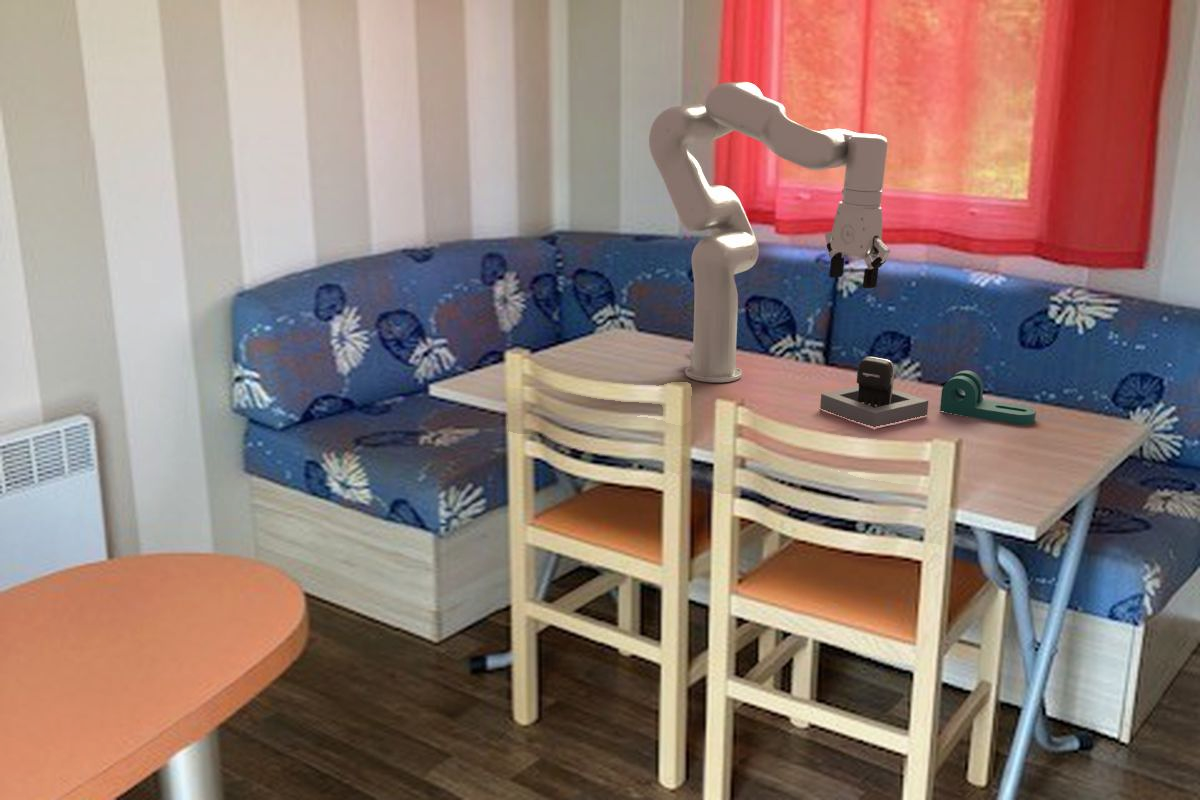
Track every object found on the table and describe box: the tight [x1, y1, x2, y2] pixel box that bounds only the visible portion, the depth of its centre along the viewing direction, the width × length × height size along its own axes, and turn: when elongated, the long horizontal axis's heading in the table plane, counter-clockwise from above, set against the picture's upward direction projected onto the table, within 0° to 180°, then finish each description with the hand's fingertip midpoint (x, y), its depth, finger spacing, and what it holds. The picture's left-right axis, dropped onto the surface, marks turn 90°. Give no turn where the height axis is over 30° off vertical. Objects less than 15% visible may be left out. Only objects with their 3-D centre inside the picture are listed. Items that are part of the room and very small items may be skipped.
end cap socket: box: [819, 385, 929, 427], centre depth 248 cm, size 15×15×4 cm
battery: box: [856, 356, 895, 408], centre depth 247 cm, size 7×4×11 cm, turn 54°
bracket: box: [939, 369, 1037, 426], centre depth 248 cm, size 18×7×8 cm, turn 60°
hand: (852, 282), depth 249 cm, fingers open, 9 cm apart
